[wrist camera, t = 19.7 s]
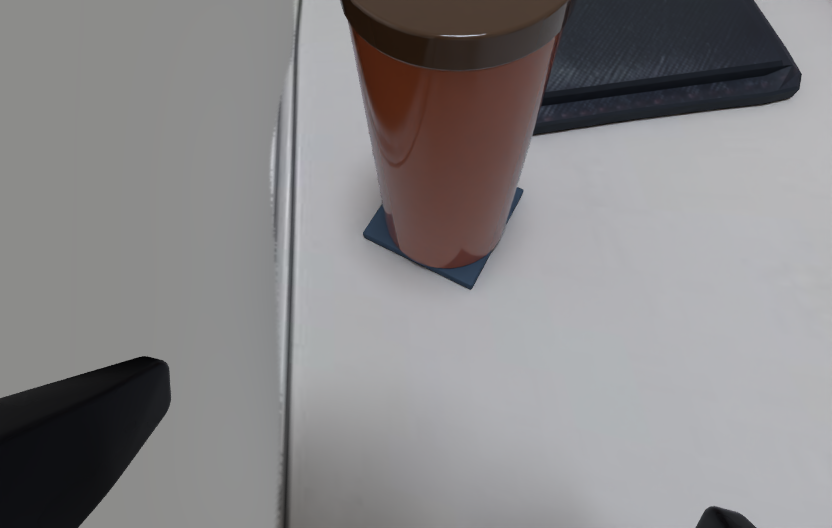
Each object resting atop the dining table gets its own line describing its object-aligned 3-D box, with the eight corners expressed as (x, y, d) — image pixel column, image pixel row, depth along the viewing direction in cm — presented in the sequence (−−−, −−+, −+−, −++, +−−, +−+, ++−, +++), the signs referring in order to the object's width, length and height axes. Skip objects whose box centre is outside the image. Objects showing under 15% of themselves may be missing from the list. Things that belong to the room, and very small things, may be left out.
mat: (471, 290, 22) (471, 286, 22) (363, 237, 23) (362, 233, 23) (522, 194, 24) (523, 189, 24) (420, 151, 25) (420, 145, 25)
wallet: (450, 122, 24) (417, -63, 30) (449, 145, 25) (418, -34, 32) (833, 80, 24) (722, -95, 30) (806, 106, 26) (706, -64, 32)
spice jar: (534, 224, 23) (644, -42, 11) (433, 295, 21) (434, 80, 10) (456, 143, 25) (477, -153, 13) (359, 204, 24) (286, -66, 12)
